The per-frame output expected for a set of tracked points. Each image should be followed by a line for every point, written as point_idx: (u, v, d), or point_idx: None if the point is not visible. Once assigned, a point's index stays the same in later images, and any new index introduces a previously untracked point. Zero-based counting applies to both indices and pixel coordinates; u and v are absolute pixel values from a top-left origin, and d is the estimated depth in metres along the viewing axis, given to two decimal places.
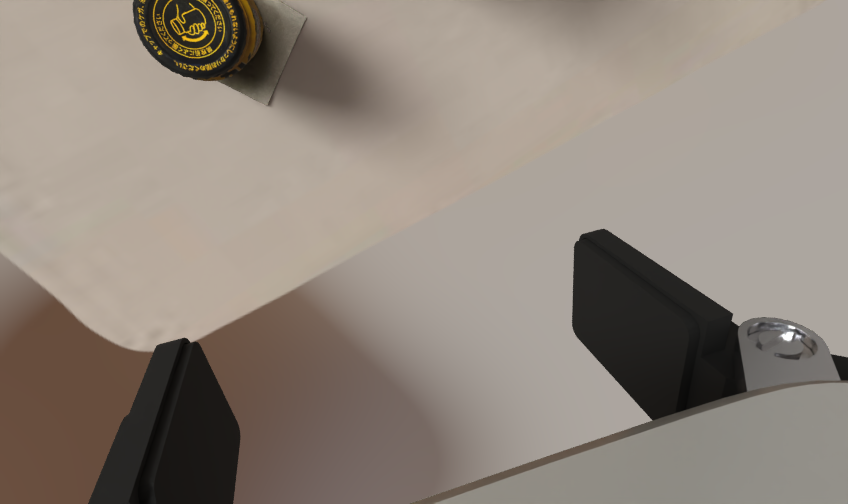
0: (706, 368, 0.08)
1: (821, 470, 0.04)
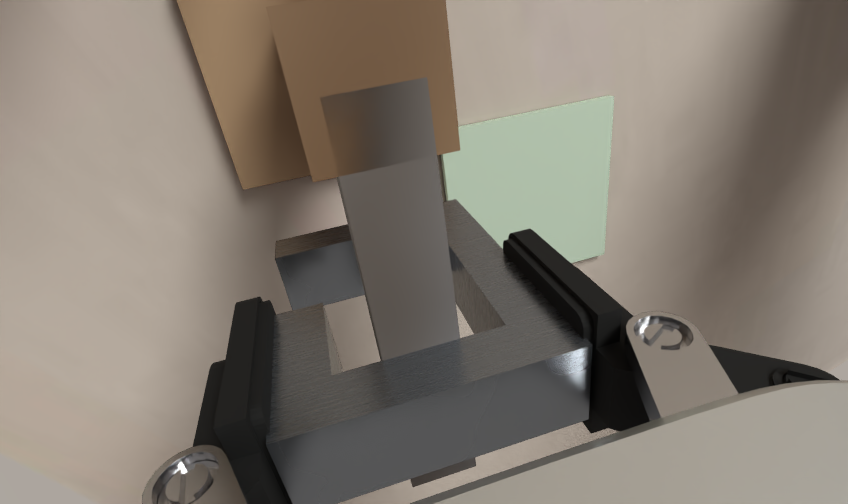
0: (600, 359, 0.09)
1: (821, 470, 0.04)
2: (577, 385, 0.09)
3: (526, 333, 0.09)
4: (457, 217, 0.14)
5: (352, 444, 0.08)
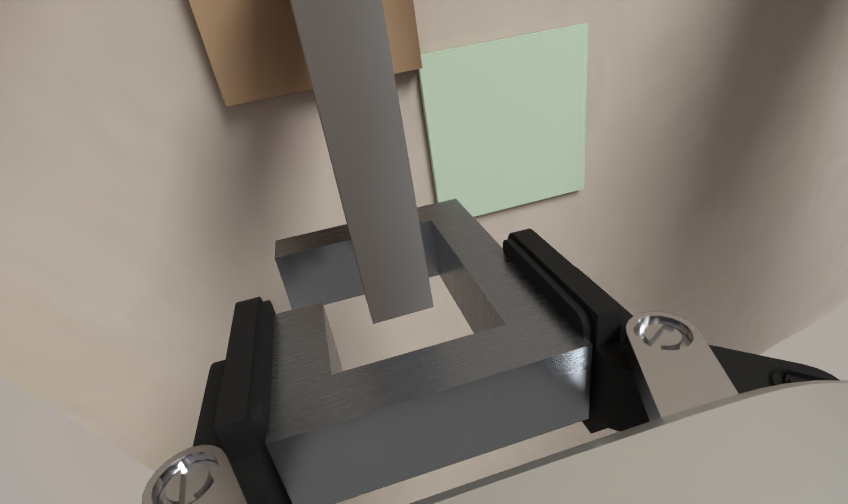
0: (600, 359, 0.09)
1: (821, 470, 0.04)
2: (577, 384, 0.09)
3: (526, 332, 0.09)
4: (457, 217, 0.14)
5: (352, 443, 0.08)
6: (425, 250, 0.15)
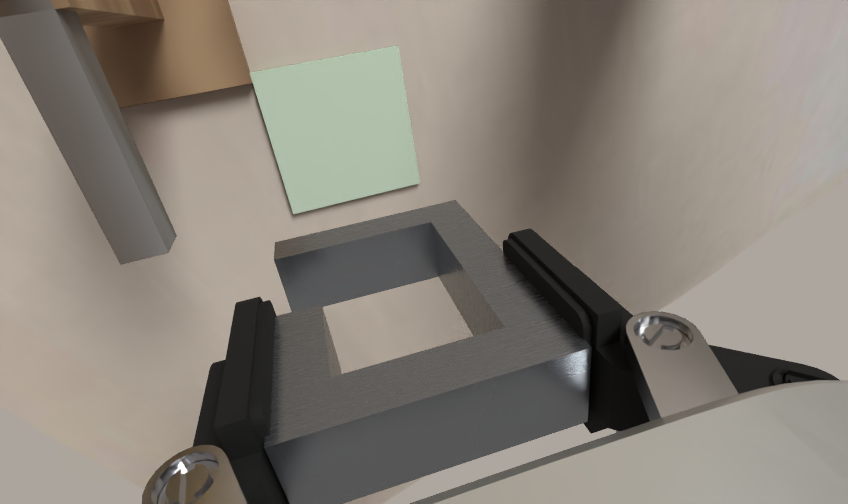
0: (600, 359, 0.09)
1: (821, 470, 0.04)
2: (576, 387, 0.09)
3: (525, 335, 0.09)
4: (456, 219, 0.14)
5: (351, 446, 0.08)
6: (424, 252, 0.15)
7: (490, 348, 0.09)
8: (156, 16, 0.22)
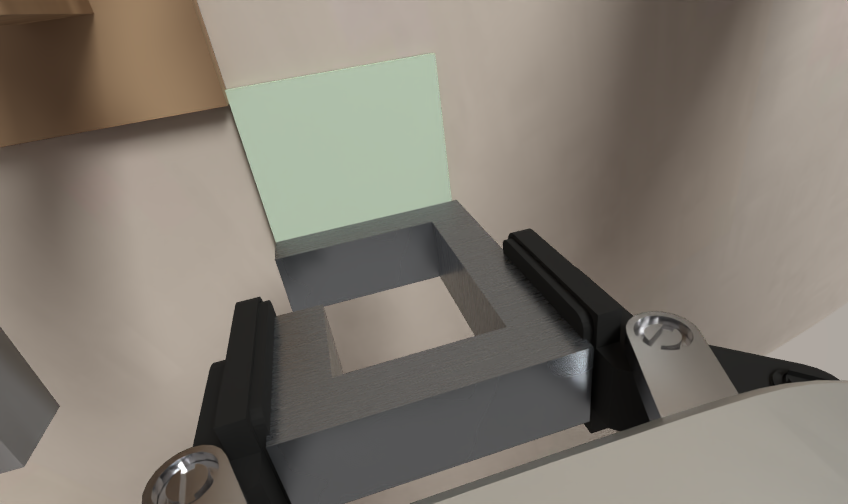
0: (600, 359, 0.09)
1: (821, 470, 0.04)
2: (578, 387, 0.09)
3: (527, 335, 0.09)
4: (457, 218, 0.14)
5: (353, 446, 0.08)
6: (426, 251, 0.15)
7: (492, 348, 0.09)
8: (72, 10, 0.15)
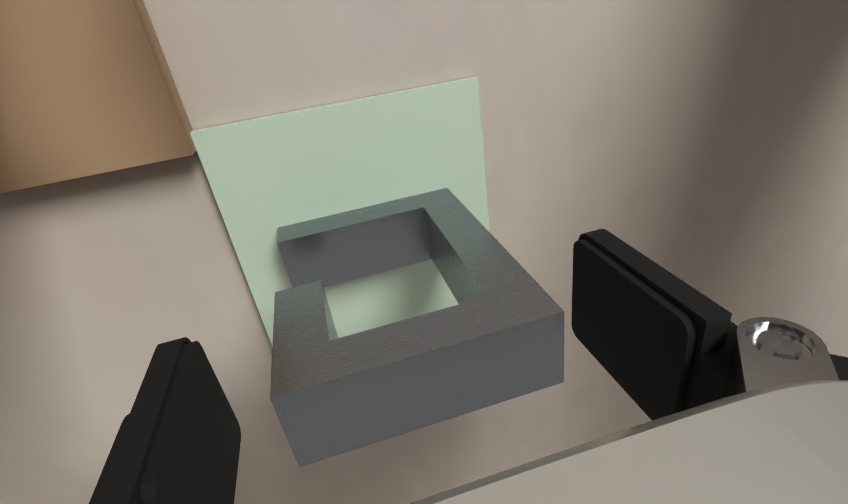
0: (705, 368, 0.08)
1: (821, 470, 0.04)
2: (551, 349, 0.10)
3: (505, 302, 0.10)
4: (447, 204, 0.15)
5: (347, 399, 0.09)
6: (418, 236, 0.16)
7: (473, 314, 0.10)
8: None
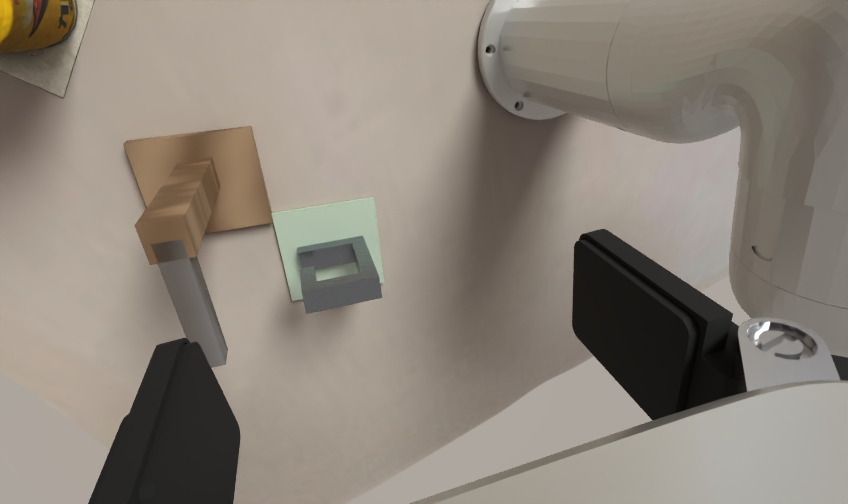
0: (706, 368, 0.08)
1: (821, 470, 0.04)
2: (377, 287, 0.36)
3: (365, 274, 0.36)
4: (360, 242, 0.42)
5: (320, 295, 0.35)
6: (349, 253, 0.42)
7: (356, 276, 0.36)
8: (217, 192, 0.35)
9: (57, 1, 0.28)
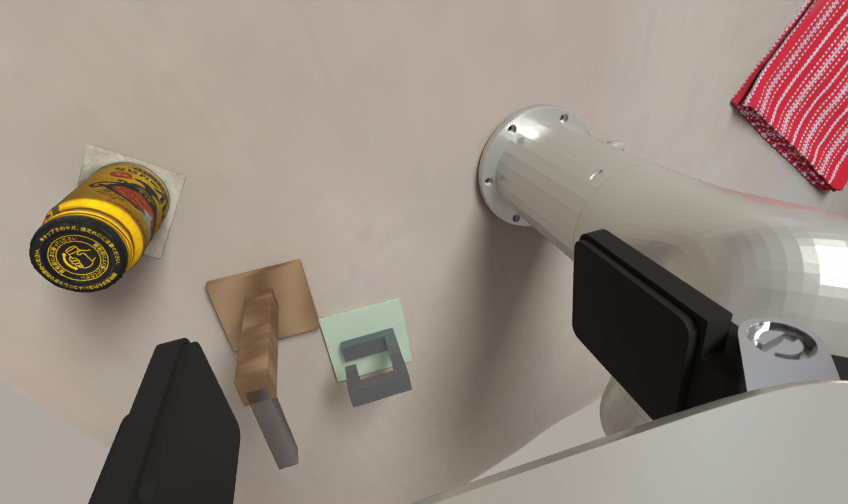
0: (706, 368, 0.08)
1: (821, 470, 0.04)
2: (407, 382, 0.45)
3: (397, 372, 0.46)
4: (391, 336, 0.51)
5: (363, 393, 0.45)
6: (383, 344, 0.51)
7: (390, 374, 0.45)
8: (278, 316, 0.45)
9: (160, 207, 0.37)
